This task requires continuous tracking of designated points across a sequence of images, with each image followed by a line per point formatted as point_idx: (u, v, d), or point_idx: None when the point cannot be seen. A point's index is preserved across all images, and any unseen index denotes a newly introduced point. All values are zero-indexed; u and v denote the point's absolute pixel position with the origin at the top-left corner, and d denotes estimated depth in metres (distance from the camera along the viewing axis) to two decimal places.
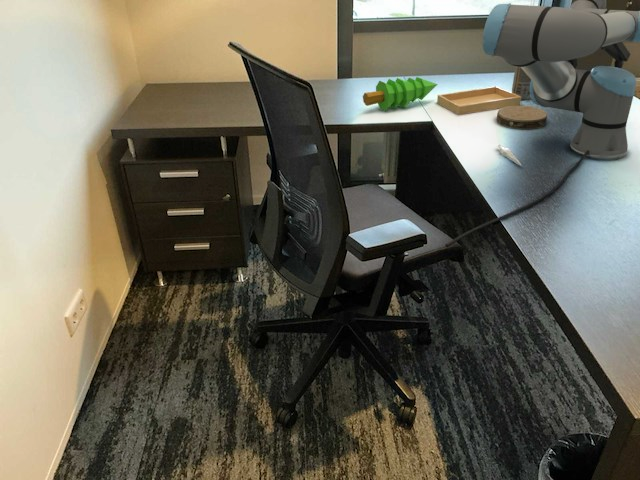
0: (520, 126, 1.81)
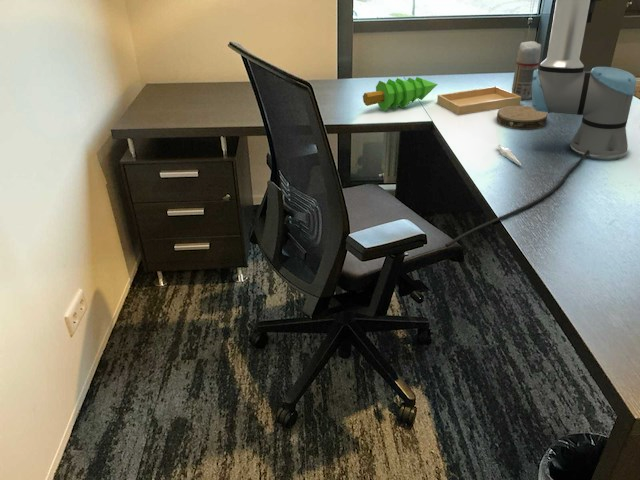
0: (520, 126, 1.81)
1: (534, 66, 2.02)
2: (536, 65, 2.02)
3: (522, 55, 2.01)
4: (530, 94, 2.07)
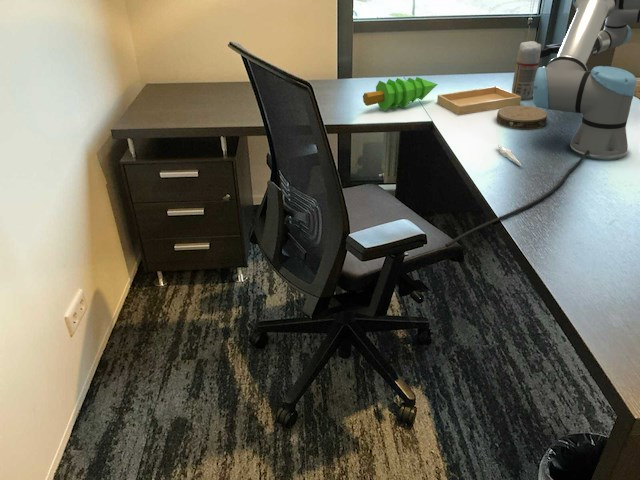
0: (520, 126, 1.81)
1: (534, 66, 2.02)
2: (536, 65, 2.02)
3: (522, 55, 2.01)
4: (530, 94, 2.07)
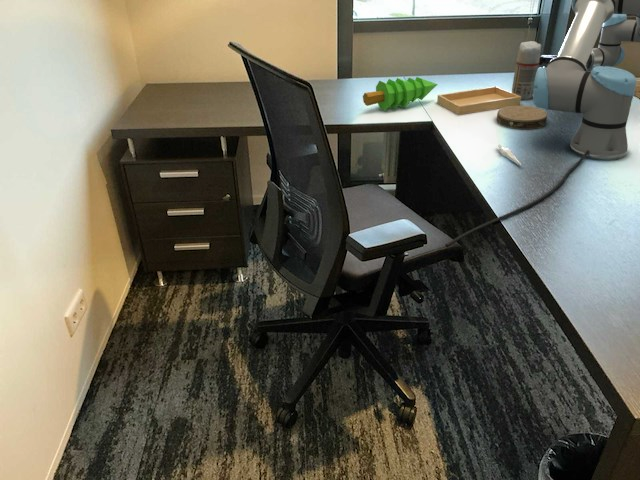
0: (520, 126, 1.81)
1: (534, 66, 2.02)
2: (536, 65, 2.02)
3: (522, 55, 2.01)
4: (530, 94, 2.07)
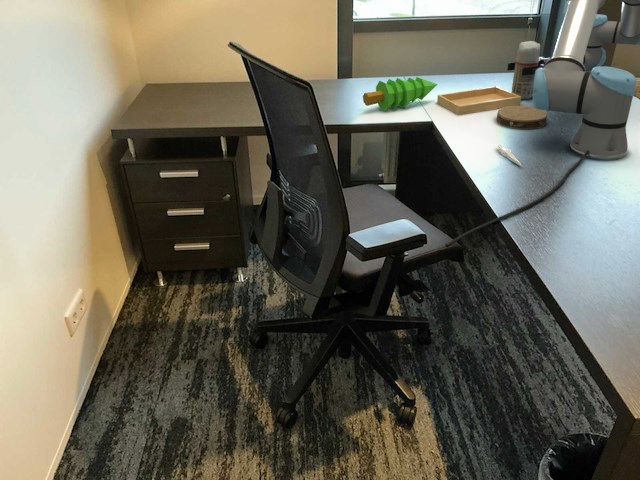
0: (520, 126, 1.81)
1: None
2: (536, 65, 2.02)
3: (522, 55, 2.01)
4: (530, 94, 2.07)
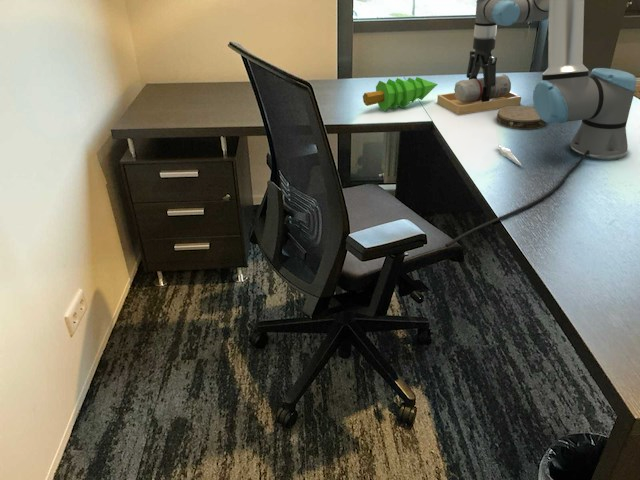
0: (520, 126, 1.81)
1: (482, 91, 2.00)
2: (481, 89, 1.99)
3: None
4: (507, 86, 2.02)
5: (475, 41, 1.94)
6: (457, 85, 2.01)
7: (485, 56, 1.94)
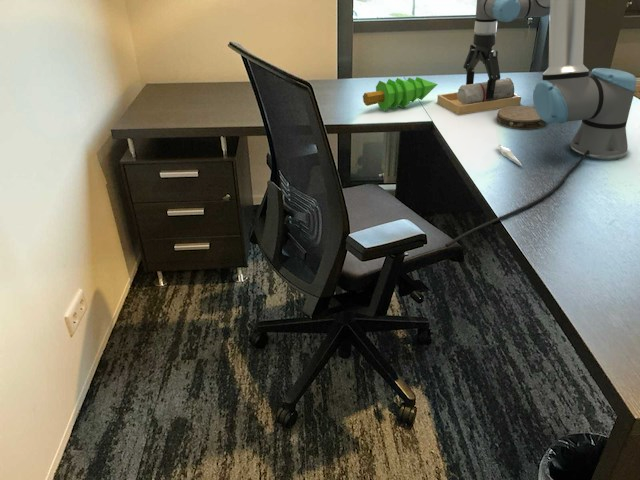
0: (520, 126, 1.81)
1: (484, 100, 1.99)
2: (484, 99, 1.99)
3: None
4: (509, 95, 2.02)
5: (475, 37, 1.93)
6: (462, 89, 1.98)
7: (485, 52, 1.94)
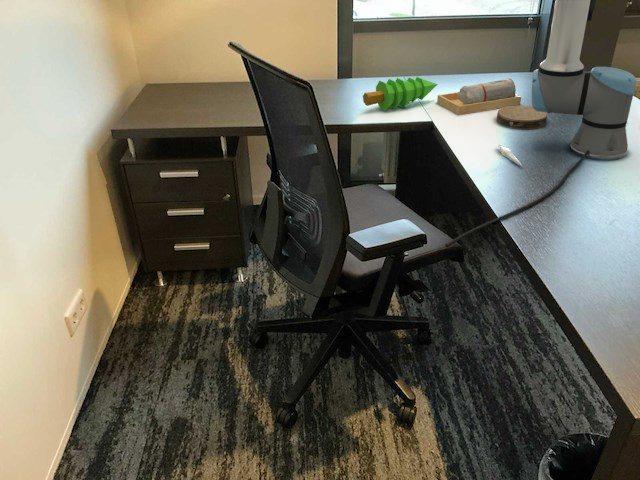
0: (520, 126, 1.81)
1: None
2: (484, 101, 1.99)
3: None
4: None
5: None
6: (463, 90, 1.98)
7: None
